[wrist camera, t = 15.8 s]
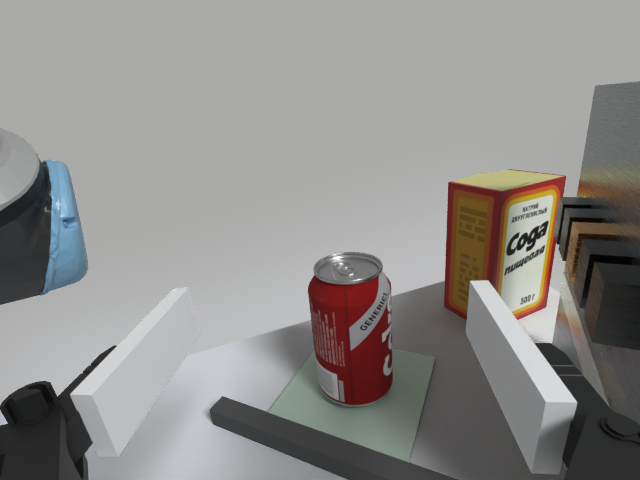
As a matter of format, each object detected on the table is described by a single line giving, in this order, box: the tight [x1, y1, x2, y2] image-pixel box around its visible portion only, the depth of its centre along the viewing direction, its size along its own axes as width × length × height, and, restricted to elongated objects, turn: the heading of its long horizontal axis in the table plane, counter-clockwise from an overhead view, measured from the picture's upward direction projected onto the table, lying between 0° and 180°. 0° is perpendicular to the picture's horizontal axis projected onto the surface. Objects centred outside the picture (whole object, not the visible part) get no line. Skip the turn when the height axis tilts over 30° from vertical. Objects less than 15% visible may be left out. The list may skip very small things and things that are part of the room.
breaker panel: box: [552, 81, 640, 425], centre depth 21 cm, size 5×20×24 cm, turn 154°
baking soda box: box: [444, 169, 566, 320], centre depth 39 cm, size 10×6×16 cm
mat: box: [268, 348, 435, 462], centre depth 32 cm, size 12×12×1 cm
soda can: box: [308, 252, 393, 407], centre depth 30 cm, size 7×7×12 cm
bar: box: [210, 396, 457, 480], centre depth 26 cm, size 20×2×2 cm, turn 64°
